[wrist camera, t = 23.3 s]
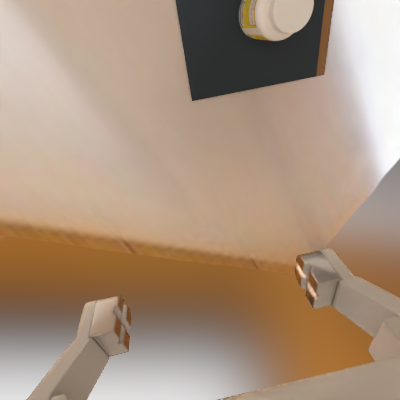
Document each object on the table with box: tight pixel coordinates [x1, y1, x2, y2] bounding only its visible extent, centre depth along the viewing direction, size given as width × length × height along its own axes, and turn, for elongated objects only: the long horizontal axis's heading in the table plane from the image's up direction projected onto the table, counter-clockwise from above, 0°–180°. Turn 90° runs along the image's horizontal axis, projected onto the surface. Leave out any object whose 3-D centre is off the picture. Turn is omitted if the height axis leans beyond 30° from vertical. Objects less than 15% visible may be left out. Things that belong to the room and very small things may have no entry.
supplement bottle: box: [239, 0, 314, 41], centre depth 27 cm, size 5×5×10 cm
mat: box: [176, 0, 334, 101], centre depth 31 cm, size 20×18×1 cm
